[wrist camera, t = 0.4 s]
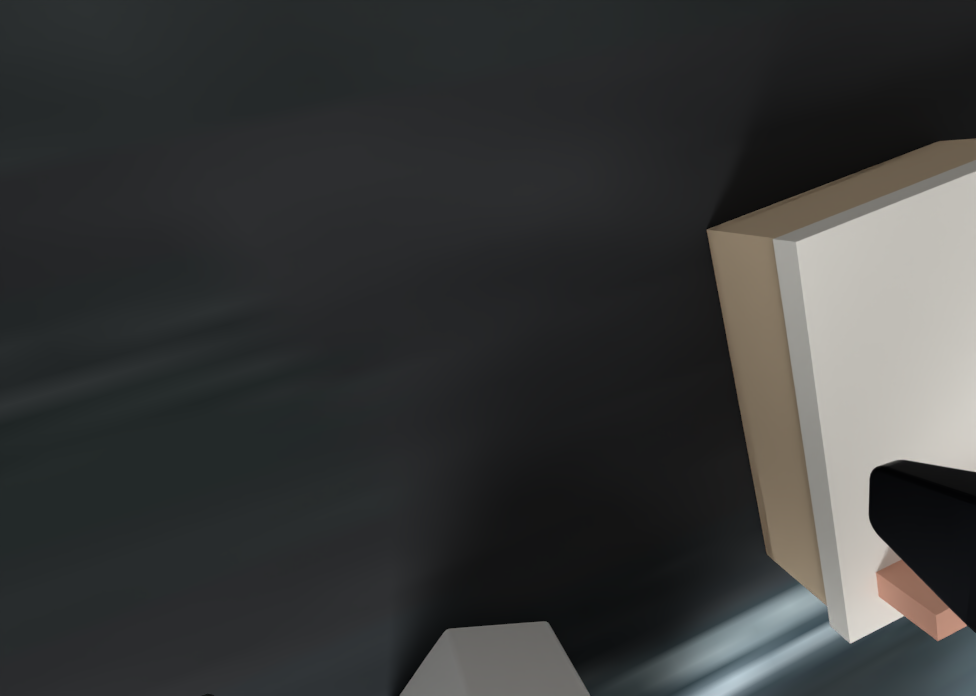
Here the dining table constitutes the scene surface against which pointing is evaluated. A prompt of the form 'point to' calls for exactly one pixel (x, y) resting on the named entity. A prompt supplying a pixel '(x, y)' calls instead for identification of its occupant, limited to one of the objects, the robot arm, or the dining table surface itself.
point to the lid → (882, 377)
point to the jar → (497, 664)
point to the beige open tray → (764, 344)
